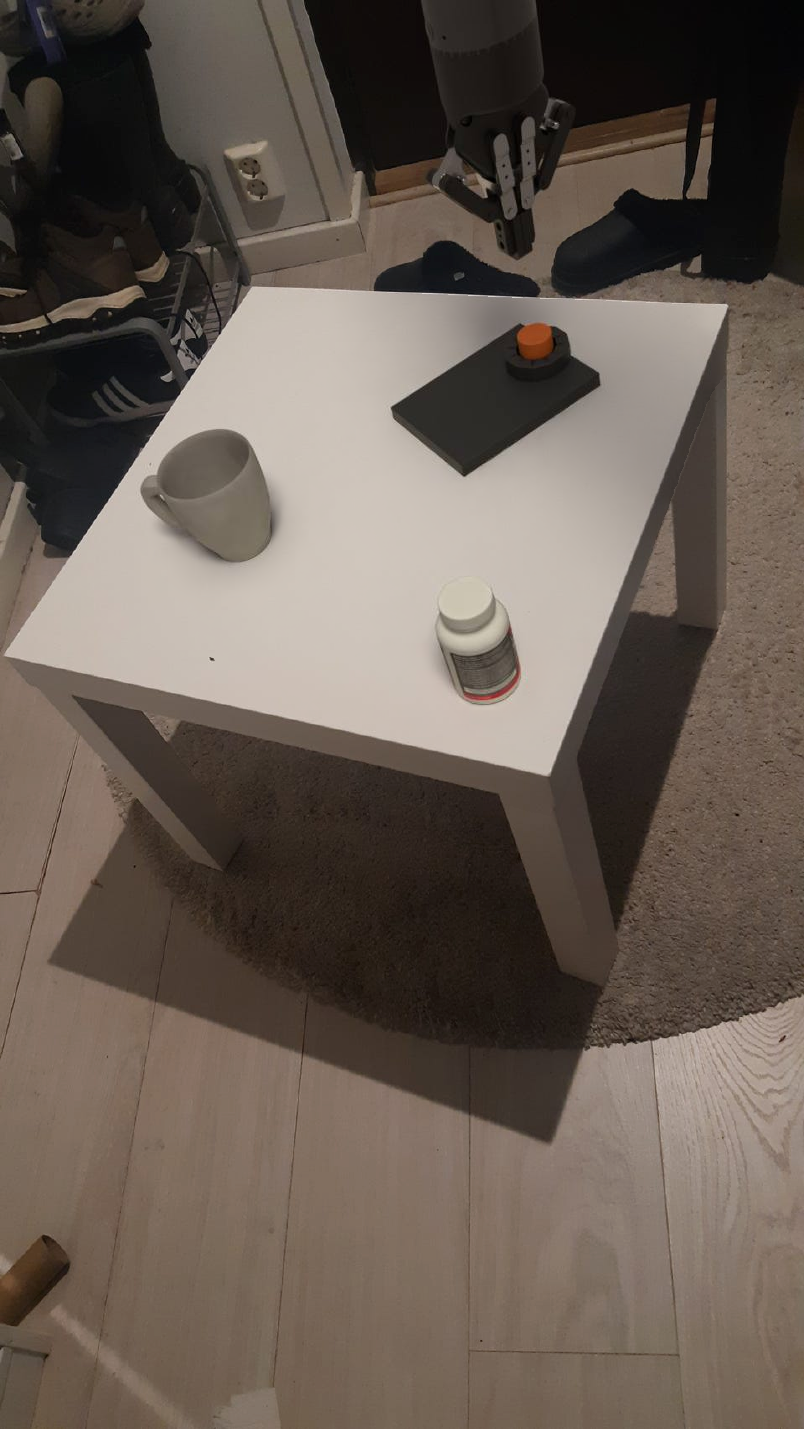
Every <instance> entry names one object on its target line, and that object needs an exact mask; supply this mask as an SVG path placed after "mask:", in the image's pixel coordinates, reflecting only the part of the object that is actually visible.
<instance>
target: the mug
mask: <svg viewBox="0 0 804 1429" xmlns="http://www.w3.org/2000/svg"><path fill="white" fill-rule="evenodd" d="M139 491H140V495H141V498H142V500H143V502H144V504H145V505H146V506H147V508H148V510H150V511H151V512H152V513H153V514H154V515H155V516H156V517H158V519H160V520H161V521H162V522H164V523H165V524H167V525H168V526H170V527H172V528H174V529H179V530H185V531H187V532H188V533H189V534H190V535H191V536H192V537H193V538H194V539H195V540H196V541H198V542H199V543H200V544H202V545H203V546H204V547H206V548H207V549H209V550H211V551H212V552H214V553H216V554H217V555H219V557H221V558H222V559H223V560H225V561H228V562H231V563H240V562H245V561H249V560H251V559H254V558H255V557H257V556H258V555H259V554H261V553H262V552H263V551H264V550H265V549H266V548H267V546H268V545H269V542H270V540H271V536H272V530H271V519H272V518H271V515H272V510H271V509H272V508H271V497H270V493H269V489H268V484H267V480H266V478H265V475H264V471H263V469H262V466H261V464H260V461H259V459H258V457H257V454H256V452H255V450H254V447H253V446H252V445H251V443H250V441H249V440H248V439H247V438H246V437H245V436H244V435H243V434H241V433H239V432H238V431H235V430H232V429H227V428H214V429H208V430H203V431H200V432H197V433H195V434H193V435H190V436H188V437H187V438H184V439H183V440H181V441H179V442H178V443H177V444H175V445H174V446H173V447H172V448H171V449H170V450H169V451H168V452H167V453H166V454H165V456H164V457H163V458H162V460H161V461H160V462H159V465H158V468H157V473H156V474H151V475H147V476H146V477H145V478H144V479H143V481H142V483H141V485H140V490H139Z"/></svg>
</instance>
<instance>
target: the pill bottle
mask: <svg viewBox="0 0 804 1429" xmlns="http://www.w3.org/2000/svg"><path fill="white" fill-rule="evenodd" d="M490 585H491V584H489V583H488V582H487V581H486V580H484V579H483V578H480V577H478V576H462V577H458V578H456V579H454V580H451V581H450V582H448V583H446V585H444V587H443V588H442V589H441V590H440V592H439V594H438V597H437V609H438V612H439V613H438V614H437V616H436V619H435V620H436V621H435V635H436V639H437V641H438V645H439V647H440V650H441V653H442V655H443V658H444V661H445V665H446V667H447V670H448V672H449V675H450V676H449V677H450V679H451V681H452V684H453V687H454V688H455V690H456V692H457V693H458V694H459V696H460V697H461V698H463V699H464V700H466V701H468V702H470V703H473V704H478V705H489V704H496V703H498V702H500V701H502V700H504V699H506V698H508V697H509V696H510V695H511V694H512V693H514V691H515V690H516V688H517V687H518V686H519V684H520V681H521V677H522V668H521V662H520V658H519V654H518V649H517V646H516V642H515V638H514V633H513V628H512V625H511V622H510V617H509V614H508V611H507V608H506V607H505V605H504V604H503V603H502V602H501V601H500V600H499V599H497V597H495V595H494V592H493V589H492V587H491V586H490Z"/></svg>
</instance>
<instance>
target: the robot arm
mask: <svg viewBox="0 0 804 1429" xmlns="http://www.w3.org/2000/svg"><path fill="white" fill-rule="evenodd" d="M420 3H421V8H422V13H423V18H424V26H425V32H426V35H427V39H428V42H429V48H430V52H431V57H432V58H431V59H432V63H433V67H434V72H435V78H436V82H437V88H438V94H439V97H440V101H441V105H442V108H443V110H444V113H445V116H446V119H447V127H446V133H445V145H446V148H447V152H446V153H445V156H443V160H442V161H441V163H440V166H439V167H438V168H437V167H432V168H430V169H429V171H428V172H427V173H426V182H427V184H428V185H429V186H430V187H431V188H432V187H433V188H434V189H435V190H436V191H437V192H439V193H440V194H442V195H443V196H445V197H446V198H448V199H449V200H451V201H452V202H454V203H455V204H456V205H458V206H459V207H460V208H462V209H464V210H465V211H466V212H468V213H469V214H471V215H473V216H475V217H476V218H478V219H479V220H482V221H484V222H486V223H487V224H492V223H493V228H494V229H493V230H494V233H495V238H496V245H497V248H498V249H499V251H500V252H501V253H504V254H505V255H506V256H508V257H510V258H512V259H514V260H515V261H520V260H521V259H522V258H524V257H525V256H527V255H529V254H530V253H531V252H533V249H534V247H533V243H535V239H536V229H535V222H534V214H533V208H532V207H533V205H534V202H535V197H536V195H537V194H538V192H541V191H546V190H547V189H549V187H551V186H550V185H551V183H552V180H553V178H554V175H555V172H556V170H557V166H558V164H559V162H560V159H561V156H562V153H563V150H564V148H565V145H566V142H567V139H568V137H569V133H570V131H571V128H572V126H573V123H574V120H575V117H576V114H577V110H576V107H575V106H574V105H572V104H570V103H568V102H566V101H564V100H561V99H559V98H555V97H549V91H548V89H547V87H546V85H545V84H544V83H543V79H544V74H545V69H544V61H543V53H542V44H541V43H542V42H541V37H540V36H541V35H540V28H539V26H540V25H539V18H538V10H537V3H536V0H420ZM463 164H464V165H466V166H467V167H468V168H469V169H470V170H471V171H472V172H474V173H475V176H476V180H477V182H478V184H479V185H480V186H481V188H482V192H483V195H484V197H482V196H480V195H479V194H478V193H477V192H475V191H474V190H472V189H471V188H470V187H468V186H467V184H468V182H469V180H468V178H467V173H466V172H465V170H464V169H463Z"/></svg>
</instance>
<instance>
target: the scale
mask: <svg viewBox="0 0 804 1429" xmlns="http://www.w3.org/2000/svg"><path fill="white" fill-rule="evenodd" d="M525 326H526V325H525V324H524V323H522V322H519V323H518V324H516V325H515V326H513V327H512V328H510V329H509V330H507V331H506V332H504V333H502V334H501V335H500V336H498V337H496V338H495V339H493V340H492V341H490V342H489V343H487V344H486V345H484V346H483V347H481V348H480V349H478V350H476V351H475V352H473V353H472V354H470V355H468V356H467V357H466V358H464V359H463V360H461V361H459V362H458V363H456V364H455V365H453V366H452V367H450V368H448V369H447V370H446V371H444V372H443V373H441V374H440V375H437V377H435V378H433V379H432V380H430V381H428V382H427V383H426V384H424V385H423V386H421V387H420V388H418V389H416V390H415V391H413V392H411V393H410V394H409V395H407V396H405V397H403V399H401V400H400V401H398V402H396V403H395V404H394V405H392V406H390V410H391V415H392V418H393V419H394V420H395V421H396V422H398V424H400V425H402V427H403V428H405V430H407V431H408V432H410V434H412V435H413V436H414V437H415V438H417V439H418V440H419V441H420V442H422V444H424V445H425V446H426V447H427V448H429V449H430V450H431V451H432V452H434V453H435V454H436V455H438V457H440V459H442V460H443V461H444V462H446V463H447V464H449V466H451V468H453V469H454V470H455V471H457V472H458V473H459V474H460V475H462V476H463V477H466V476H467V475H469V474H471V473H472V472H474V471H475V470H477V469H478V468H480V467H481V466H483V465H484V464H485V463H487V462H488V461H490V460H491V459H493V458H494V457H496V456H497V455H499V454H500V453H501V452H503V451H505V450H506V449H508V448H509V447H511V446H512V445H514V444H516V443H517V442H518V441H520V440H521V439H523V438H524V437H525V436H527V435H529V434H530V433H532V432H533V431H534V430H536V429H538V428H539V427H540V426H542V425H543V424H545V423H546V422H548V421H549V420H551V419H553V418H554V417H555V416H557V415H558V414H560V413H561V412H563V411H564V410H566V409H567V408H569V407H570V406H572V405H573V404H574V403H576V402H578V401H579V400H581V399H582V398H584V397H585V396H586V395H588V394H590V393H591V392H592V391H594V390H596V389H597V388H598V387H600V386H601V374H600V372H598V371H597V370H596V369H594V368H592V367H590V366H589V365H587V364H586V363H585V362H583V361H581V360H580V359H579V358H577V357H575V356H574V355H572V353H571V352H572V351H571V344H570V343H571V342H570V340H569V336H568V333H567V332H566V331H564V330H563V329H561V328H559V327H558V326H555V325H548V326H549V327H550V328H551V331H552V339H553V350H552V352H551V353H550V354H548V355H547V356H545V357H543V358H538V359H534V360H531V359H524V358H523V357H522V356H521V355H520V352H519V346H518V340H517V335H518V332H519V331H520V330H521V329H522V328H523V327H525Z"/></svg>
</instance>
